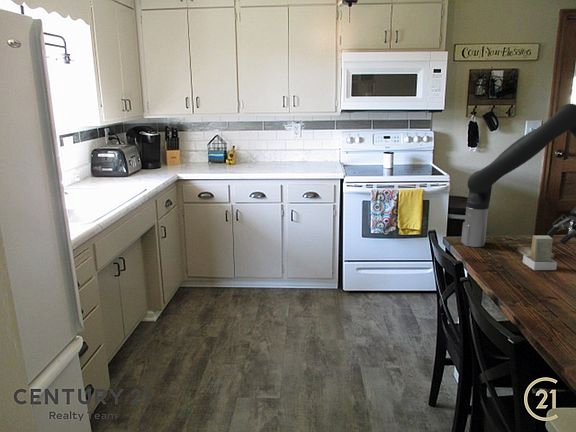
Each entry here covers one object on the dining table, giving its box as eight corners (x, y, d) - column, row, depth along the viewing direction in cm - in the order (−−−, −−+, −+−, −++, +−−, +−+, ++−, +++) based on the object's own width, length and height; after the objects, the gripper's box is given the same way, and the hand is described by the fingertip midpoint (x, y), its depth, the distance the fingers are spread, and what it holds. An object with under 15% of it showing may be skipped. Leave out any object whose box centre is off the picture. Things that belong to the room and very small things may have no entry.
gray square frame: (533, 270, 189) (534, 262, 189) (522, 262, 198) (523, 255, 197) (556, 269, 190) (557, 262, 189) (543, 261, 198) (544, 255, 197)
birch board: (528, 257, 203) (528, 254, 202) (517, 250, 212) (517, 247, 211) (553, 257, 203) (554, 254, 203) (542, 250, 212) (542, 247, 212)
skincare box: (545, 264, 195) (549, 235, 192) (549, 268, 191) (554, 238, 188) (528, 263, 196) (532, 234, 193) (532, 267, 192) (536, 238, 189)
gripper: (570, 199, 195) (539, 227, 197) (594, 208, 181) (560, 238, 184) (580, 212, 197) (549, 239, 199) (605, 221, 183) (571, 251, 185)
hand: (554, 239), depth 191 cm, fingers open, 8 cm apart
